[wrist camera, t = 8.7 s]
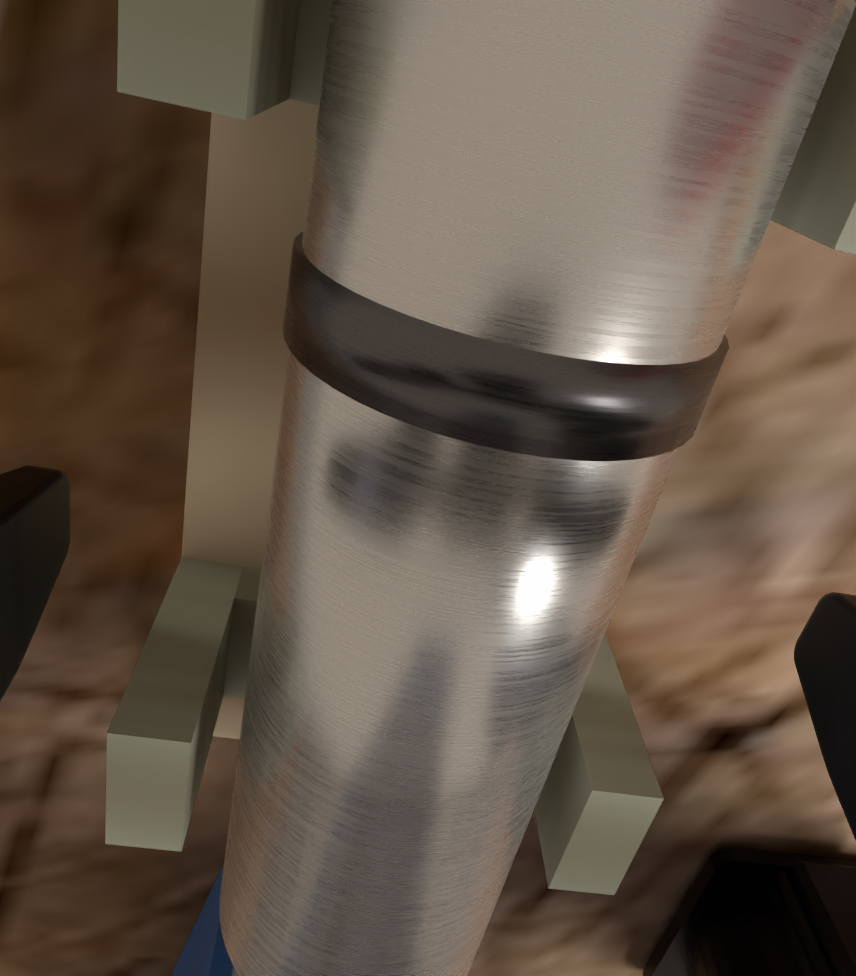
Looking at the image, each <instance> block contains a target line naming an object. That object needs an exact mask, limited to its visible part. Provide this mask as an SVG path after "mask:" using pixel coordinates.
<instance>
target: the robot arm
mask: <svg viewBox="0 0 856 976" xmlns="http://www.w3.org/2000/svg"><path fill="white" fill-rule="evenodd" d="M69 543H70V486H69V480H68V477H67V475H66V474H65V473H64V472H63V471H60V470H56V469H49V468H43V467H37V466H23V467H20V468H17V469H14V470H11V471H9V472H6V473H3V474H0V701H1V699H2V697H3V696H4V694H5V692H6V691H7V689H8V687H9V685H10V683H11V681H12V680H13V678H14V676H15V674H16V672H17V670H18V668H19V666H20V664H21V662H22V659H23V657H24V655H25V653H26V651H27V648H28V646H29V643H30V641H31V639H32V636H33V634H34V632H35V629H36V627H37V624H38V622H39V620H40V617H41V615H42V613H43V610H44V608H45V605H46V603H47V601H48V598H49V596H50V594H51V591H52V589H53V586H54V584H55V582H56V579H57V577H58V575H59V572H60V570H61V567H62V565H63V563H64V560H65V558H66V555H67V552H68V548H69ZM794 661H795V665H796V669H797V672H798V675H799V679H800V682H801V685H802V689H803V692H804V695H805V699H806V702H807V705H808V709H809V712H810V715H811V719H812V722H813V725H814V729H815V732H816V735H817V739H818V742H819V745H820V749H821V752H822V755H823V758H824V761H825V764H826V767H827V770H828V773H829V776H830V778H831V781H832V784H833V786H834V789H835V791H836V794H837V796H838V799H839V801H840V804H841V806H842V808H843V811H844V813H845V816H846V818H847V821H848V823H849V825H850V828H851V830H852V833H853V835H854V838H855V840H856V595H849V594H843V593H835V592H831V593H829V594H826V595H825V596H823V597H822V598H821V599H820V601H819V602H818V604H817V606H816V607H815V609H814V611H813V613H812V615H811V616H810V618H809V620H808V622H807V624H806V625H805V627H804V629H803V631H802V633H801V634H800V636H799V638H798V640H797V642H796V645H795V649H794ZM643 976H856V861H849V860H840V859H831V858H822V857H813V856H804V855H795V854H786V853H777V852H768V851H759V850H750V849H741V848H724V849H721V850H718V851H717V852H715V853H713V855H712V856H711V857H710V858H709V860H708V862H707V863H706V865H705V867H704V868H703V870H702V872H701V873H700V875H699V877H698V879H697V880H696V882H695V884H694V885H693V887H692V889H691V891H690V892H689V894H688V896H687V897H686V899H685V901H684V902H683V904H682V906H681V908H680V909H679V911H678V913H677V914H676V916H675V918H674V920H673V921H672V923H671V925H670V926H669V928H668V930H667V931H666V933H665V935H664V937H663V938H662V940H661V942H660V943H659V945H658V947H657V948H656V950H655V952H654V954H653V955H652V957H651V959H650V960H649V962H648V964H647V966H646V967H645V969H644V971H643Z"/></svg>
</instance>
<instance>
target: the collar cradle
mask: <svg viewBox="0 0 856 976" xmlns="http://www.w3.org/2000/svg"><path fill="white" fill-rule="evenodd" d="M332 3H333V0H118V58H117V92H120V93H125V94H129V95H134V96H139V97H143V98H148V99H152V100H157V101H161V102H166V103H170V104H175V105H179V106H184V107H189V108H193V109H198V110H202V111H207V112H211V113H212V114H211V129H210V143H209V158H208V173H207V187H206V202H205V217H204V231H203V246H202V261H201V275H200V290H199V305H198V319H197V334H196V349H195V363H194V378H193V393H192V407H191V422H190V436H189V451H188V466H187V480H186V495H185V510H184V524H183V539H182V554H181V559H180V562H179V564H178V566H177V569H176V571H175V574H174V576H173V578H172V581H171V583H170V585H169V588H168V590H167V592H166V595H165V597H164V600H163V602H162V604H161V607H160V609H159V611H158V614H157V616H156V618H155V621H154V623H153V626H152V628H151V630H150V633H149V635H148V637H147V640H146V642H145V644H144V647H143V649H142V651H141V654H140V656H139V659H138V661H137V663H136V666H135V668H134V670H133V673H132V675H131V677H130V680H129V682H128V685H127V687H126V689H125V692H124V694H123V696H122V699H121V701H120V703H119V706H118V708H117V711H116V713H115V715H114V718H113V720H112V722H111V725H110V727H109V729H108V732H107V763H106V827H105V844H111V845H121V846H131V847H141V848H151V849H161V850H171V851H180V852H182V848H183V844H184V841H185V837H186V833H187V829H188V826H189V822H190V818H191V815H192V811H193V807H194V803H195V800H196V796H197V792H198V788H199V785H200V781H201V777H202V774H203V770H204V766H205V762H206V759H207V755H208V751H209V747H210V744H211V740H212V736H215V737H224V738H232V739H240V733H241V725H242V717H243V709H244V701H245V693H246V685H247V677H248V669H249V661H250V653H251V645H252V638H253V630H254V622H255V614H256V606H257V598H258V590H259V582H260V574H261V566H262V558H263V550H264V542H265V534H266V527H267V519H268V511H269V503H270V495H271V487H272V479H273V471H274V463H275V455H276V447H277V439H278V431H279V423H280V416H281V408H282V400H283V392H284V384H285V376H286V368H287V360H288V352H289V348H288V346H287V344H286V342H285V340H284V335H283V323H284V314H285V306H286V298H287V289H288V281H289V273H290V265H291V256H292V248H293V243H294V239H295V237H296V236H297V235H298V234H299V233H300V232H302V231H304V225H305V217H306V209H307V201H308V194H309V186H310V178H311V170H312V162H313V154H314V146H315V138H316V130H317V122H318V114H319V106H320V98H321V90H322V83H323V75H324V67H325V59H326V51H327V43H328V35H329V27H330V19H331V11H332ZM770 220H772V221H774V222H776V223H778V224H780V225H783V226H785V227H787V228H789V229H791V230H793V231H795V232H798V233H800V234H802V235H804V236H806V237H808V238H810V239H813V240H815V241H817V242H819V243H821V244H823V245H826V246H828V247H830V248H832V249H834V250H839V251H843V252H848V253H852V254H856V6H855V9H854V11H853V14H852V16H851V19H850V21H849V24H848V26H847V29H846V31H845V34H844V36H843V39H842V41H841V44H840V46H839V49H838V51H837V54H836V56H835V59H834V61H833V64H832V66H831V69H830V71H829V74H828V76H827V79H826V81H825V84H824V86H823V89H822V91H821V94H820V96H819V99H818V101H817V104H816V106H815V109H814V111H813V114H812V116H811V119H810V121H809V124H808V126H807V129H806V131H805V134H804V136H803V139H802V141H801V144H800V146H799V149H798V151H797V154H796V156H795V159H794V161H793V164H792V166H791V169H790V171H789V174H788V176H787V179H786V181H785V184H784V186H783V189H782V191H781V194H780V196H779V199H778V201H777V204H776V206H775V209H774V211H773V214H772V216H771V219H770ZM663 800H664V798H663V795H662V792H661V789H660V786H659V784H658V781H657V778H656V775H655V772H654V770H653V767H652V764H651V761H650V758H649V755H648V753H647V750H646V747H645V744H644V741H643V738H642V736H641V733H640V730H639V727H638V724H637V721H636V719H635V716H634V713H633V710H632V707H631V705H630V702H629V699H628V696H627V693H626V690H625V688H624V685H623V682H622V679H621V676H620V673H619V671H618V668H617V665H616V662H615V659H614V656H613V654H612V651H611V648H610V645H609V642H608V640H607V637H606V634H604V636H603V639H602V641H601V644H600V646H599V649H598V651H597V654H596V656H595V659H594V661H593V664H592V666H591V669H590V671H589V674H588V676H587V679H586V681H585V684H584V686H583V689H582V691H581V694H580V696H579V699H578V701H577V704H576V706H575V709H574V711H573V714H572V716H571V719H570V721H569V724H568V726H567V729H566V731H565V734H564V736H563V739H562V741H561V744H560V746H559V749H558V751H557V754H556V756H555V759H554V761H553V764H552V766H551V769H550V771H549V774H548V776H547V779H546V781H545V784H544V786H543V789H542V791H541V794H540V796H539V799H538V801H537V804H536V806H535V809H534V812H535V817H536V823H537V828H538V834H539V840H540V845H541V851H542V856H543V862H544V867H545V873H546V879H547V884H548V889H558V890H568V891H578V892H588V893H598V894H608V895H615V893H616V891H617V889H618V887H619V885H620V883H621V881H622V879H623V877H624V875H625V873H626V871H627V870H628V868H629V866H630V864H631V862H632V860H633V858H634V856H635V854H636V852H637V850H638V848H639V846H640V844H641V842H642V840H643V838H644V837H645V835H646V833H647V831H648V829H649V827H650V825H651V823H652V821H653V819H654V817H655V815H656V813H657V811H658V809H659V807H660V805H661V804H662V802H663Z"/></svg>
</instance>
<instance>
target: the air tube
mask: <svg viewBox="0 0 856 976" xmlns="http://www.w3.org/2000/svg"><path fill="white" fill-rule="evenodd" d="M855 6H856V0H333V3H332V11H331V19H330V27H329V35H328V43H327V51H326V59H325V67H324V75H323V83H322V90H321V98H320V106H319V114H318V122H317V130H316V138H315V146H314V154H313V162H312V170H311V178H310V186H309V194H308V201H307V209H306V217H305V225H304V231H302V232H300V233H299V234H298V235H297V236H296V237H295V239H294V243H293V248H292V256H291V265H290V273H289V281H288V289H287V298H286V306H285V314H284V323H283V335H284V340H285V342H286V344H287V346H288V348H289V352H288V360H287V368H286V376H285V384H284V392H283V400H282V408H281V416H280V423H279V431H278V439H277V447H276V455H275V463H274V471H273V479H272V487H271V495H270V503H269V511H268V519H267V527H266V534H265V542H264V550H263V558H262V566H261V574H260V582H259V590H258V598H257V606H256V614H255V622H254V630H253V638H252V645H251V653H250V661H249V669H248V677H247V685H246V693H245V701H244V709H243V717H242V725H241V733H240V741H239V749H238V756H237V764H236V772H235V780H234V788H233V796H232V804H231V812H230V820H229V828H228V836H227V844H226V852H225V860H224V867H223V875H222V883H221V891H220V907H219V916H220V924H221V932H222V936H223V939H224V943H225V947H226V950H227V952H228V955H229V957H230V959H231V962H232V964H233V966H234V968H235V970H236V971H237V973H238V974H239V976H467V975H468V972H469V970H470V968H471V965H472V963H473V961H474V958H475V956H476V953H477V951H478V948H479V946H480V943H481V941H482V938H483V936H484V933H485V931H486V928H487V926H488V923H489V921H490V918H491V916H492V913H493V911H494V909H495V906H496V904H497V901H498V899H499V896H500V894H501V891H502V889H503V886H504V884H505V881H506V879H507V876H508V874H509V871H510V869H511V866H512V864H513V861H514V859H515V856H516V854H517V851H518V849H519V846H520V844H521V841H522V839H523V836H524V834H525V831H526V829H527V826H528V824H529V821H530V819H531V816H532V814H533V811H534V809H535V806H536V804H537V801H538V799H539V796H540V794H541V791H542V789H543V786H544V784H545V781H546V779H547V776H548V774H549V771H550V769H551V766H552V764H553V761H554V759H555V756H556V754H557V751H558V749H559V746H560V744H561V741H562V739H563V736H564V734H565V731H566V729H567V726H568V724H569V721H570V719H571V716H572V714H573V711H574V709H575V706H576V704H577V701H578V699H579V696H580V694H581V691H582V689H583V686H584V684H585V681H586V679H587V676H588V674H589V671H590V669H591V666H592V664H593V661H594V659H595V656H596V654H597V651H598V649H599V646H600V644H601V641H602V639H603V636H604V634H605V631H606V629H607V626H608V624H609V621H610V619H611V616H612V614H613V611H614V609H615V606H616V604H617V601H618V599H619V596H620V594H621V591H622V589H623V586H624V584H625V581H626V579H627V576H628V574H629V571H630V569H631V566H632V564H633V561H634V559H635V556H636V554H637V551H638V549H639V546H640V544H641V541H642V539H643V536H644V534H645V531H646V529H647V526H648V524H649V521H650V519H651V516H652V514H653V511H654V509H655V506H656V504H657V501H658V499H659V496H660V494H661V491H662V489H663V486H664V484H665V481H666V479H667V476H668V474H669V471H670V469H671V466H672V464H673V461H674V459H675V456H676V454H677V451H678V449H679V447H680V446H682V445H684V444H685V443H686V442H687V441H688V440H689V439H690V438H691V437H692V436H693V434H694V432H695V430H696V427H697V425H698V422H699V420H700V418H701V415H702V413H703V410H704V408H705V405H706V403H707V400H708V398H709V395H710V393H711V390H712V388H713V386H714V383H715V381H716V378H717V376H718V373H719V371H720V368H721V366H722V363H723V361H724V358H725V356H726V354H727V351H728V349H729V345H728V340H727V338H726V336H725V331H726V329H727V326H728V324H729V321H730V319H731V316H732V314H733V311H734V309H735V306H736V304H737V301H738V299H739V296H740V294H741V291H742V289H743V286H744V284H745V281H746V279H747V276H748V274H749V271H750V269H751V266H752V264H753V261H754V259H755V256H756V254H757V251H758V249H759V246H760V244H761V241H762V239H763V236H764V234H765V231H766V229H767V226H768V224H769V221H770V219H771V216H772V214H773V211H774V209H775V206H776V204H777V201H778V199H779V196H780V194H781V191H782V189H783V186H784V184H785V181H786V179H787V176H788V174H789V171H790V169H791V166H792V164H793V161H794V159H795V156H796V154H797V151H798V149H799V146H800V144H801V141H802V139H803V136H804V134H805V131H806V129H807V126H808V124H809V121H810V119H811V116H812V114H813V111H814V109H815V106H816V104H817V101H818V99H819V96H820V94H821V91H822V89H823V86H824V84H825V81H826V79H827V76H828V74H829V71H830V69H831V66H832V64H833V61H834V59H835V56H836V54H837V51H838V49H839V46H840V44H841V41H842V39H843V36H844V34H845V31H846V29H847V26H848V24H849V21H850V19H851V16H852V14H853V11H854V9H855Z"/></svg>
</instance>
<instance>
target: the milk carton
mask: <svg viewBox="0 0 856 976" xmlns="http://www.w3.org/2000/svg"><path fill="white" fill-rule="evenodd" d="M223 867H224V864H223V866H222V868H221V870H220V872H219V874H218V876H217V879H216V881H215V883H214V885H213V887H212V889H211V891H210V893H209V896H208V898H207V900H206V902H205V904H204V906H203V908H202V910H201V912H200V915H199V917H198V919H197V921H196V923H195V925H194V927H193V929H192V931H191V934H190V936H189V938H188V940H187V942H186V944H185V946H184V948H183V951H182V953H181V955H180V957H179V959H178V961H177V963H176V965H175V967H174V970H173V972H172V974H171V976H239V974H238V973H237V971H236V970H235V968H234V966H233V964H232V962H231V959H230V957H229V955H228V952H227V950H226V947H225V943H224V939H223V936H222V932H221V924H220V916H219V907H220V891H221V883H222V875H223Z"/></svg>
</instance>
